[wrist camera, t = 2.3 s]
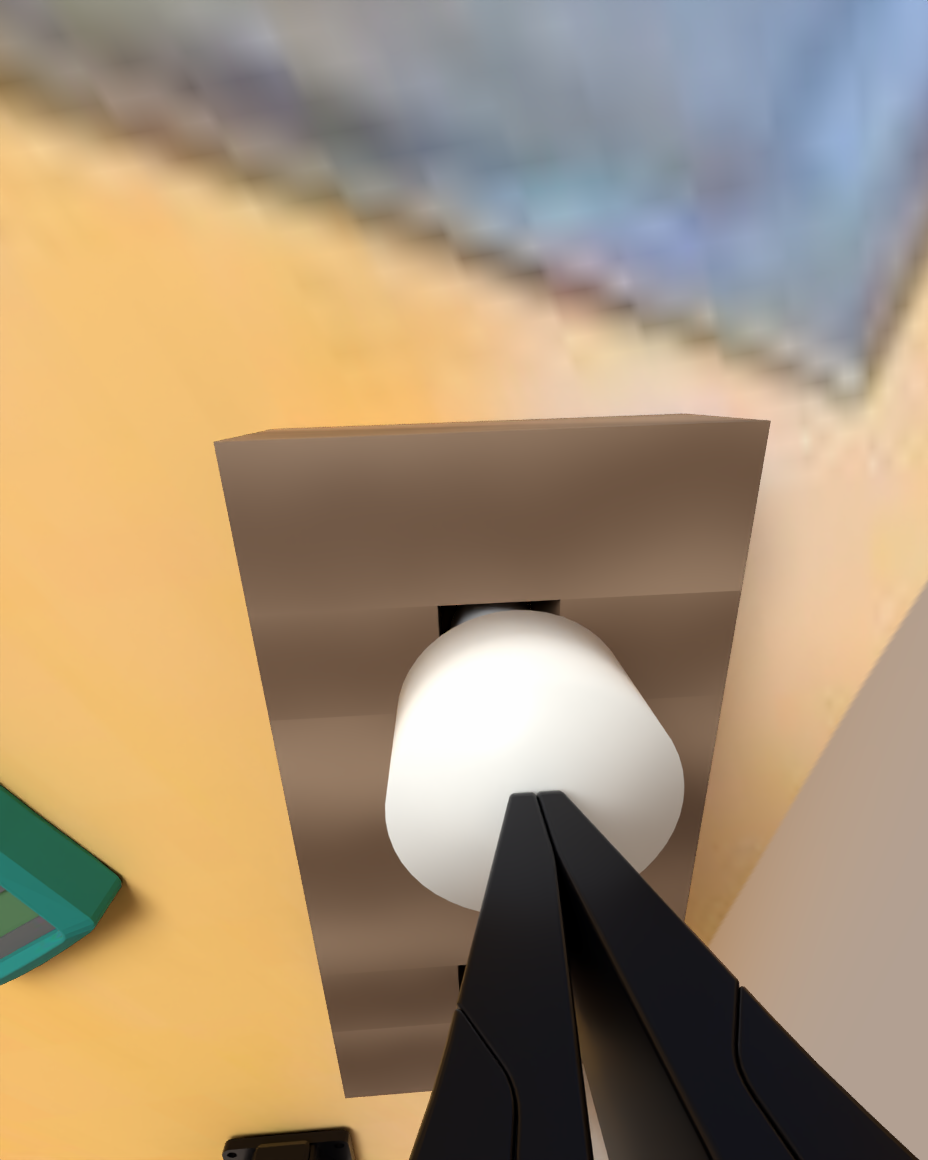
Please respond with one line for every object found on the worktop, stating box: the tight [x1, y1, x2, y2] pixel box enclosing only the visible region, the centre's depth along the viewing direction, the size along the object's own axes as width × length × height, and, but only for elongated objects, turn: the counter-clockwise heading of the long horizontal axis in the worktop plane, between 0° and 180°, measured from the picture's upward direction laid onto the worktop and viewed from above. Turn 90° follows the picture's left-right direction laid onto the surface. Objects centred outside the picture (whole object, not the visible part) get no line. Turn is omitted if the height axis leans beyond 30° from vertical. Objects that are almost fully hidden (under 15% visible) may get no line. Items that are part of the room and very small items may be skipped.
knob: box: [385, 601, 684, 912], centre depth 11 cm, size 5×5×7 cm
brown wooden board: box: [214, 414, 771, 1098], centre depth 17 cm, size 24×12×4 cm, turn 2°
